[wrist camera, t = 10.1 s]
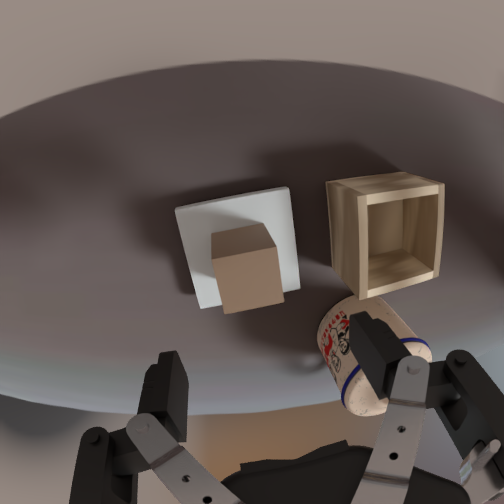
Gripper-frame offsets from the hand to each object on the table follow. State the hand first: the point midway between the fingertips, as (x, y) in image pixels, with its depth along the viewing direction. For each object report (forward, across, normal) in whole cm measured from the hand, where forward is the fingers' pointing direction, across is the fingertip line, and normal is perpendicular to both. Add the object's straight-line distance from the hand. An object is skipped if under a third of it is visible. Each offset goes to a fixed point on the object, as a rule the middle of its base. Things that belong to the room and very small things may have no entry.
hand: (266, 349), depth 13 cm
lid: (+12, 0, 0) cm, 12 cm away
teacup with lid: (+14, -10, +13) cm, 21 cm away
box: (+13, -12, 0) cm, 18 cm away
